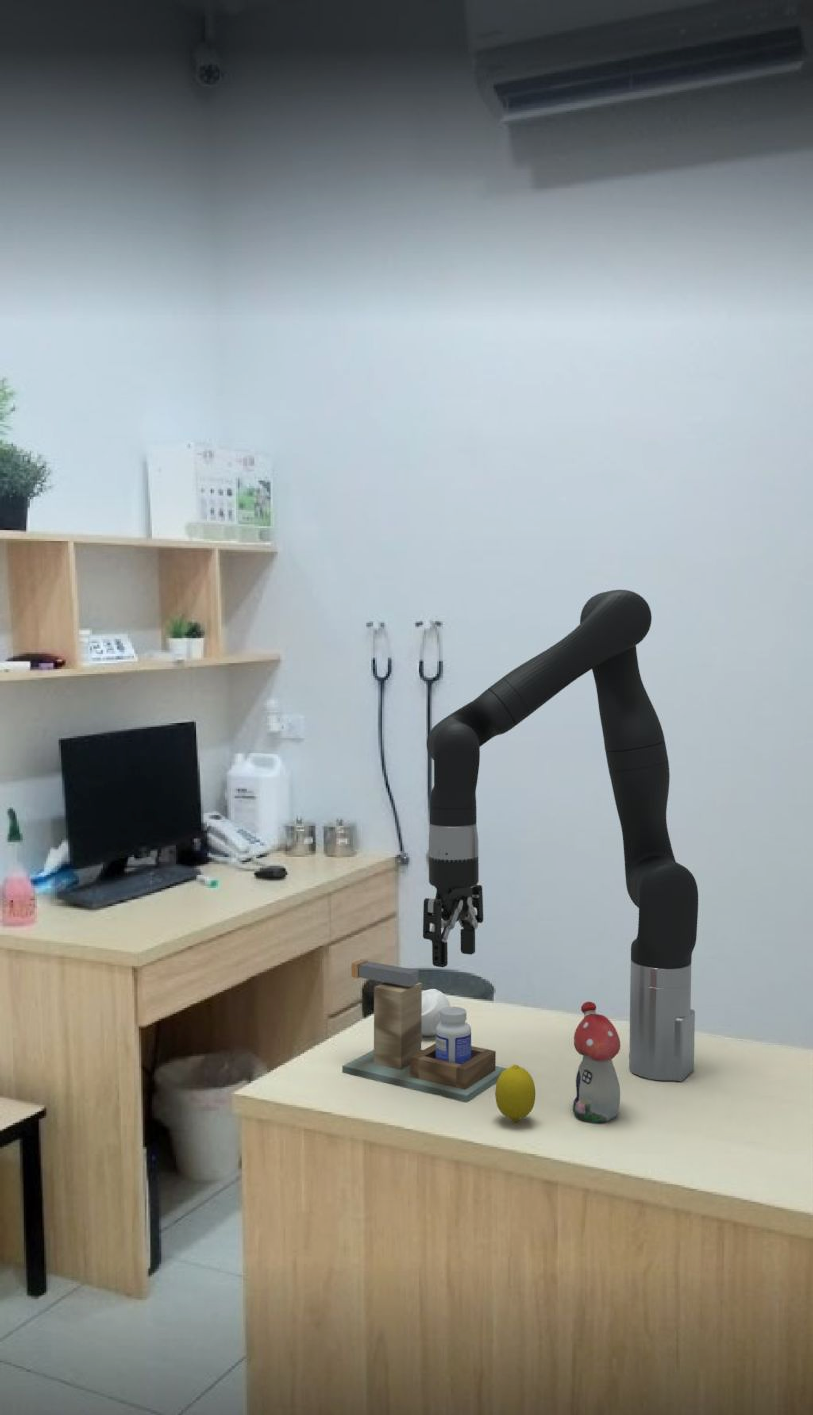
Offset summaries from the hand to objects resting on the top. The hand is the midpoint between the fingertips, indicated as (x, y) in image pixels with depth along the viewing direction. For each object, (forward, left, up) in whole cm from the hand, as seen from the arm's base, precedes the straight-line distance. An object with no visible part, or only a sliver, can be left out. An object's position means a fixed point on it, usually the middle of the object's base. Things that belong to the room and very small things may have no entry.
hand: (454, 959), depth 173 cm
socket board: (+5, 0, -19) cm, 19 cm away
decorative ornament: (-23, 0, -19) cm, 30 cm away
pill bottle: (0, 0, -18) cm, 18 cm away
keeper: (+12, 0, -5) cm, 13 cm away
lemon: (-15, +9, -19) cm, 26 cm away
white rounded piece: (+14, -16, -19) cm, 28 cm away
